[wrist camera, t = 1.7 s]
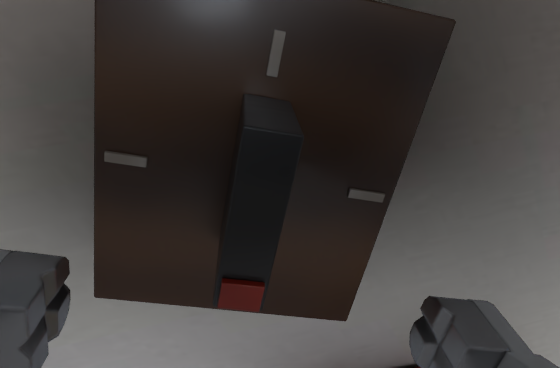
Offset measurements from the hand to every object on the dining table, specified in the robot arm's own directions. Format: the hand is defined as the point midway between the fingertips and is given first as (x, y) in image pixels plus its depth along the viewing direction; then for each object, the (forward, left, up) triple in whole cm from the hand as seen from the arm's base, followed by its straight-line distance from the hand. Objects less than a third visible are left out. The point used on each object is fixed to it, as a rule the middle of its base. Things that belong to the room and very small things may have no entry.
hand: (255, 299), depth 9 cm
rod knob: (0, 0, -6) cm, 6 cm away
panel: (0, 0, -9) cm, 9 cm away
